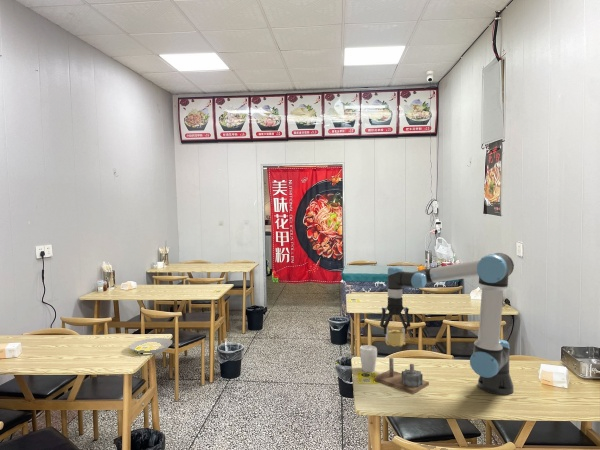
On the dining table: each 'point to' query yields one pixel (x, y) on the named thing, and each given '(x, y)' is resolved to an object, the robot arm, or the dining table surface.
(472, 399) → the dining table surface
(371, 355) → the cup
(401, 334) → the ochre gear
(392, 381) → the gear board
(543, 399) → the dining table surface
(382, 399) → the dining table surface
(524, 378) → the dining table surface
